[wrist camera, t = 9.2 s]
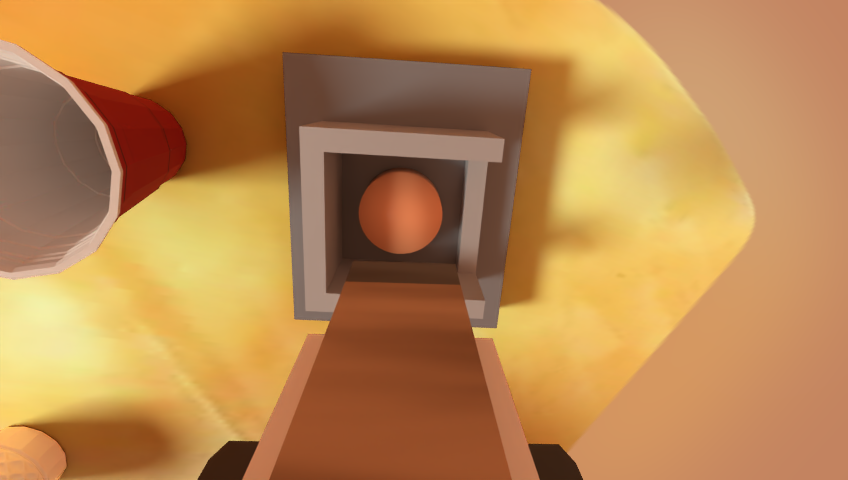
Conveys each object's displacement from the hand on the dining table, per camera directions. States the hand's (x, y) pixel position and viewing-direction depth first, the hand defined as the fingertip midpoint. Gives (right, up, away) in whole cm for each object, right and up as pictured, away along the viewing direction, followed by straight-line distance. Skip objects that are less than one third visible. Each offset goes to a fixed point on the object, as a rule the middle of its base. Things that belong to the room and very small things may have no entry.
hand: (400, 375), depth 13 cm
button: (-1, +6, +15) cm, 16 cm away
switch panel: (-1, +7, +18) cm, 19 cm away
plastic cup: (-19, +11, +17) cm, 27 cm away
